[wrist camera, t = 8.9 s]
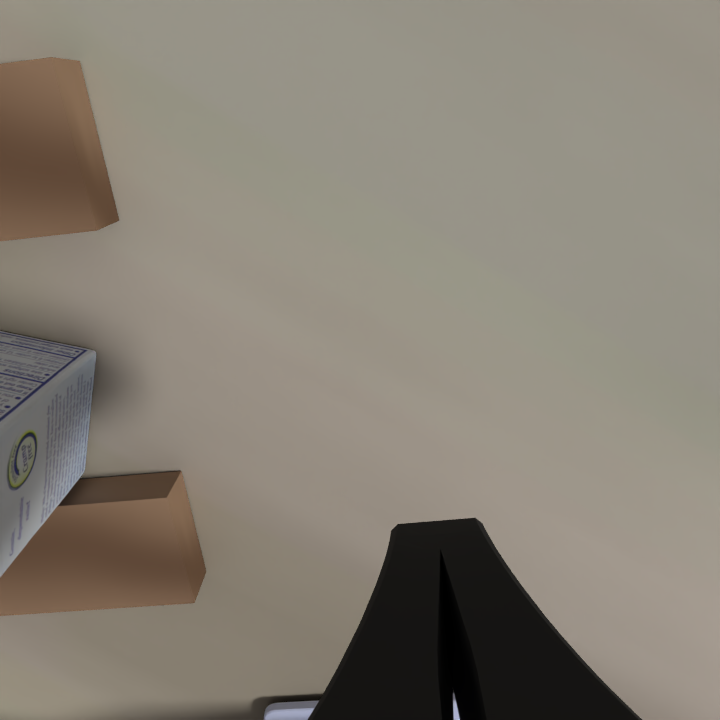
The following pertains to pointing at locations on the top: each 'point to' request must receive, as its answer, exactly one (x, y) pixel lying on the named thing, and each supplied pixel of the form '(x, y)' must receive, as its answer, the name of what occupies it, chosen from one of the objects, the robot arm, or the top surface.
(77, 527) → the notched board
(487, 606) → the robot arm
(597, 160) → the top surface
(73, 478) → the medicine box
